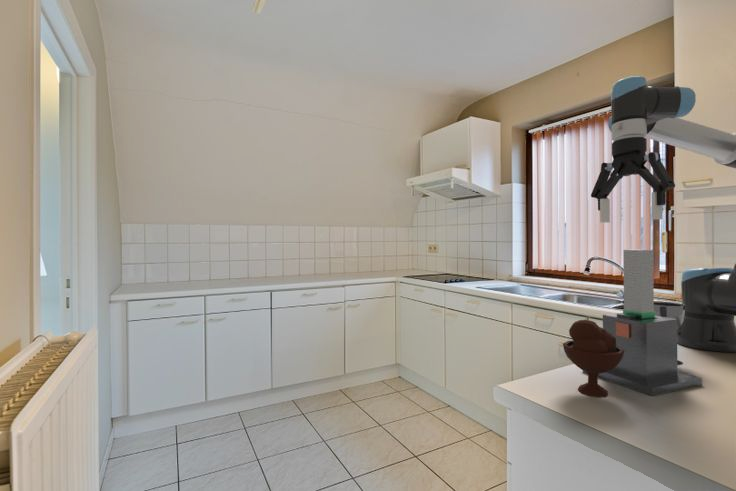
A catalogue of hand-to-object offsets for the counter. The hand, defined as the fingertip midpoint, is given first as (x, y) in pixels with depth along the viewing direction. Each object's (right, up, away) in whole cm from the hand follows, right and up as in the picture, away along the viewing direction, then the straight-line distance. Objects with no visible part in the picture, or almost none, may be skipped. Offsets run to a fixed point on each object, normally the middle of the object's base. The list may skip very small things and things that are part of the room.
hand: (629, 221), depth 99 cm
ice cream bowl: (-21, -37, -20) cm, 47 cm away
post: (-6, -29, -12) cm, 31 cm away
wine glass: (+10, -37, 0) cm, 38 cm away
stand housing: (-6, -37, -12) cm, 39 cm away
